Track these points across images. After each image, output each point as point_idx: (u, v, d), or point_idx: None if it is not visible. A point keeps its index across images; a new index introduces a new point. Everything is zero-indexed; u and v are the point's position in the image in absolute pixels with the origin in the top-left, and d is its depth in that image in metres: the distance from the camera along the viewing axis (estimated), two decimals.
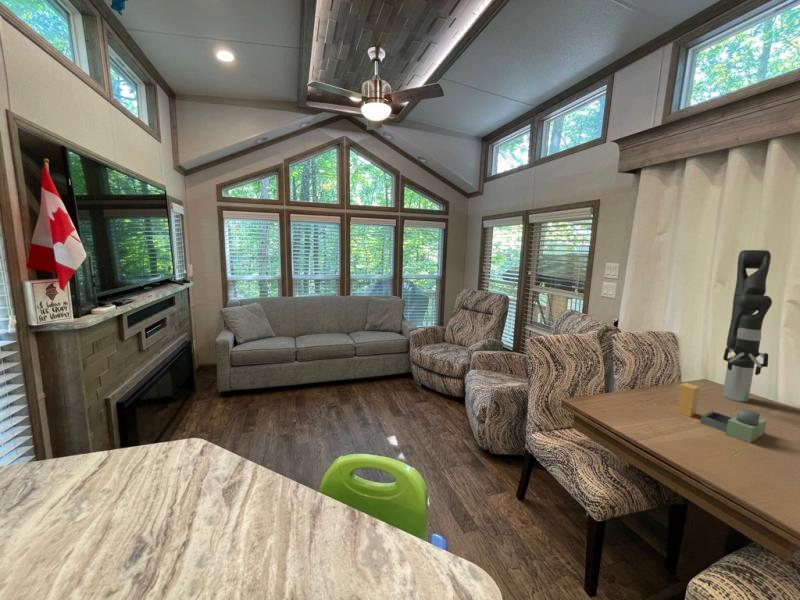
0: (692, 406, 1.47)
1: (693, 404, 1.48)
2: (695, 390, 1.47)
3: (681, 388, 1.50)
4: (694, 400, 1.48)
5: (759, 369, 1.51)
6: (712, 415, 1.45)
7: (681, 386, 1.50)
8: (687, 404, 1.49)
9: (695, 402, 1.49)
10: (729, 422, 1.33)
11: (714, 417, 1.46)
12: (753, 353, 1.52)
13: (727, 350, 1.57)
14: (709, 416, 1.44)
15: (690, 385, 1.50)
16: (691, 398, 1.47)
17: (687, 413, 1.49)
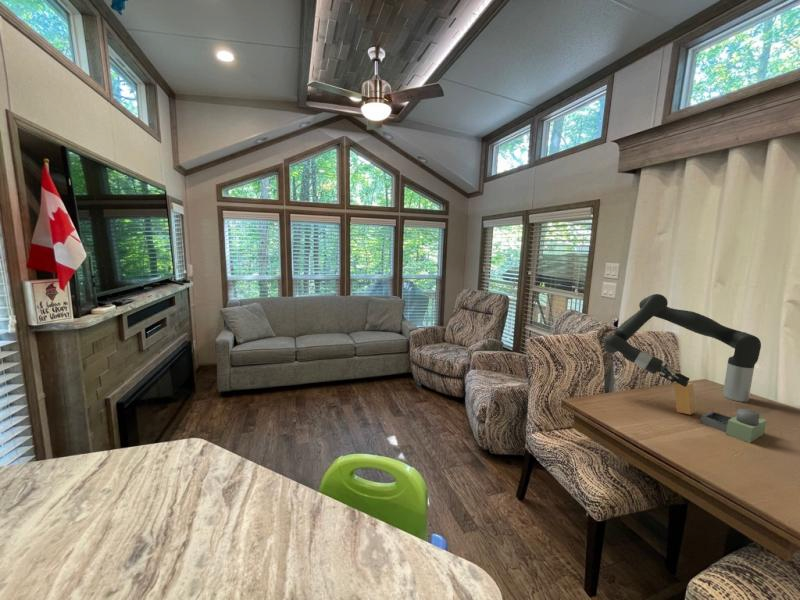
0: (689, 403, 1.48)
1: (690, 401, 1.49)
2: (688, 386, 1.49)
3: (675, 386, 1.52)
4: (690, 397, 1.49)
5: None
6: (712, 415, 1.45)
7: (675, 384, 1.52)
8: (684, 401, 1.49)
9: (692, 399, 1.49)
10: (729, 422, 1.33)
11: (714, 417, 1.46)
12: (665, 367, 1.57)
13: (664, 371, 1.51)
14: (709, 416, 1.44)
15: None
16: (686, 395, 1.49)
17: (687, 411, 1.49)
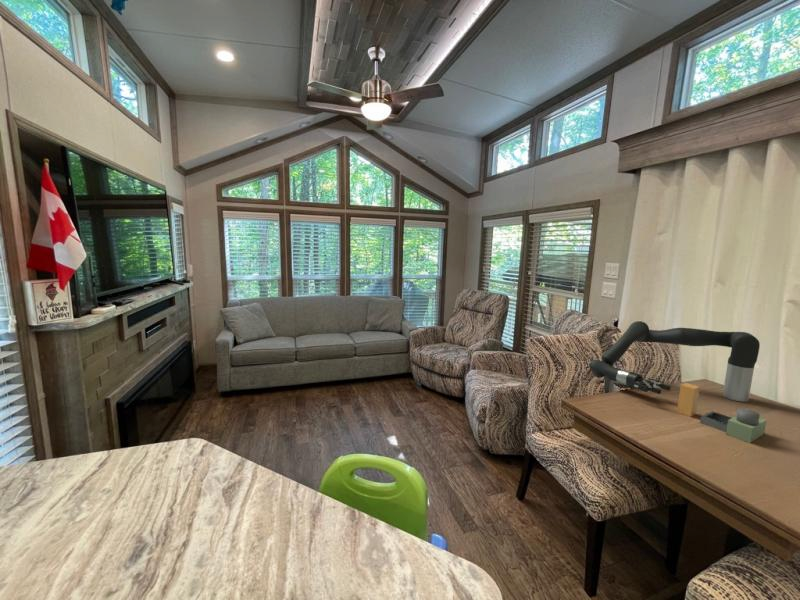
0: (692, 406, 1.47)
1: (693, 404, 1.48)
2: (695, 390, 1.47)
3: (681, 388, 1.50)
4: (694, 400, 1.48)
5: None
6: (712, 415, 1.45)
7: (681, 386, 1.50)
8: (687, 404, 1.49)
9: (695, 402, 1.49)
10: (729, 422, 1.33)
11: (714, 417, 1.46)
12: None
13: (637, 383, 1.63)
14: (709, 416, 1.44)
15: (690, 385, 1.50)
16: (691, 398, 1.47)
17: (687, 413, 1.49)
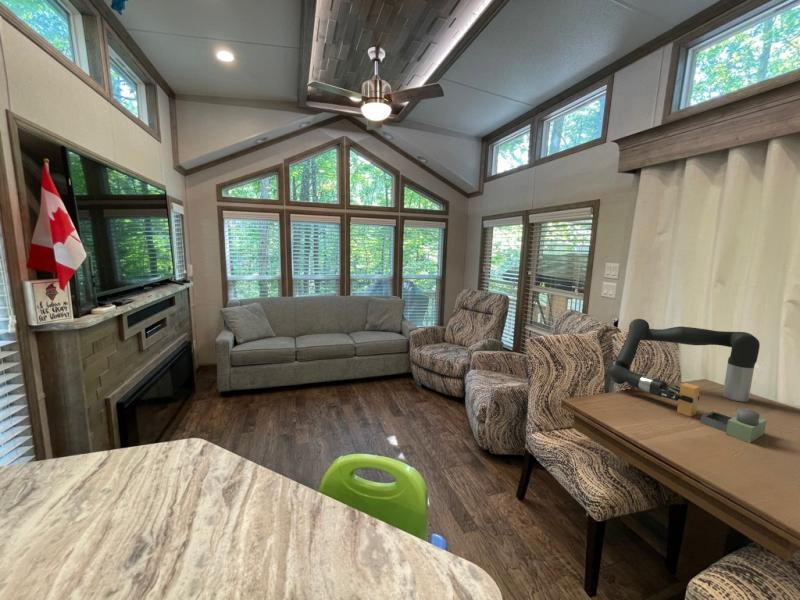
0: (692, 406, 1.47)
1: (693, 404, 1.48)
2: (695, 390, 1.47)
3: (681, 388, 1.50)
4: (695, 400, 1.48)
5: None
6: (712, 415, 1.45)
7: (681, 386, 1.50)
8: (687, 404, 1.48)
9: (695, 402, 1.49)
10: (729, 422, 1.33)
11: (714, 417, 1.46)
12: None
13: (664, 391, 1.53)
14: (709, 416, 1.44)
15: (690, 385, 1.50)
16: None
17: (687, 413, 1.49)
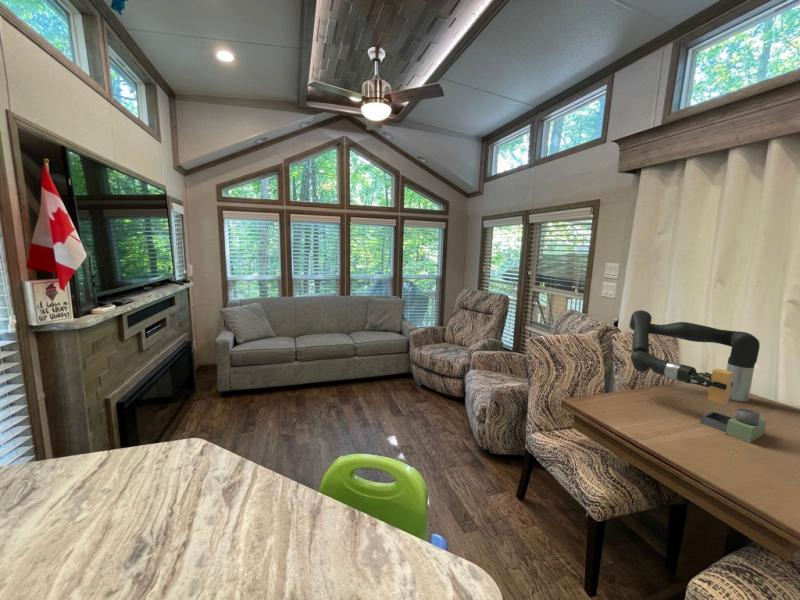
0: (725, 393, 1.37)
1: (726, 391, 1.37)
2: (729, 376, 1.36)
3: (713, 374, 1.40)
4: (728, 386, 1.38)
5: None
6: (712, 415, 1.45)
7: (713, 372, 1.40)
8: (720, 390, 1.38)
9: (728, 389, 1.38)
10: (729, 422, 1.33)
11: (714, 417, 1.46)
12: None
13: (695, 378, 1.43)
14: (709, 416, 1.44)
15: (723, 371, 1.39)
16: None
17: (720, 401, 1.38)
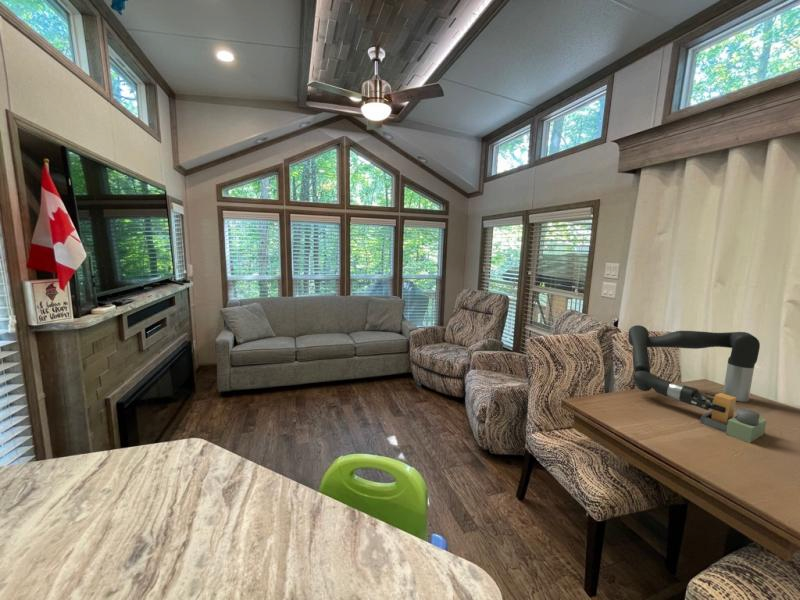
0: (727, 418, 1.37)
1: (729, 416, 1.37)
2: (731, 401, 1.36)
3: (715, 398, 1.40)
4: (730, 412, 1.37)
5: None
6: None
7: (715, 396, 1.40)
8: (722, 415, 1.38)
9: (731, 414, 1.38)
10: (729, 422, 1.33)
11: None
12: (703, 395, 1.47)
13: (695, 399, 1.43)
14: (709, 416, 1.44)
15: (725, 395, 1.39)
16: (726, 410, 1.37)
17: None
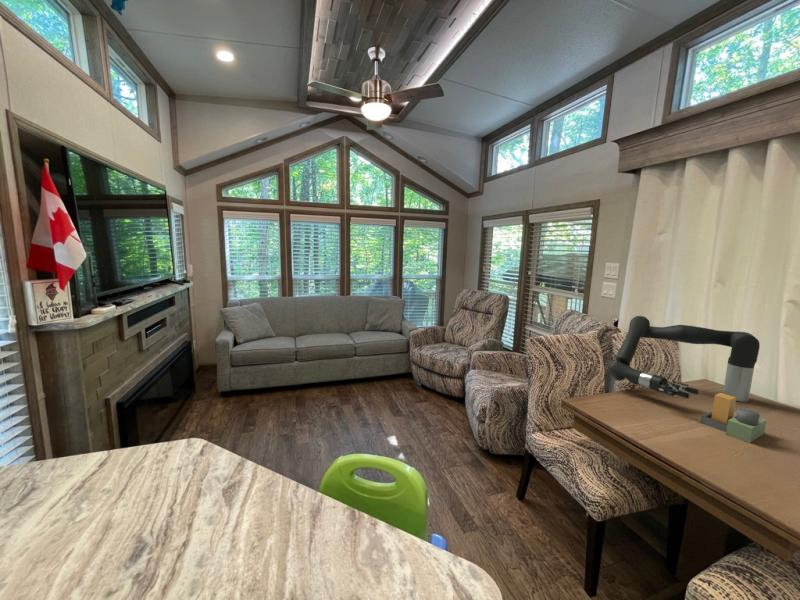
0: (727, 418, 1.37)
1: (729, 416, 1.37)
2: (731, 401, 1.36)
3: (715, 398, 1.40)
4: (730, 411, 1.37)
5: None
6: None
7: (715, 396, 1.40)
8: (722, 415, 1.38)
9: (731, 414, 1.38)
10: (729, 422, 1.33)
11: None
12: None
13: (662, 386, 1.54)
14: (709, 416, 1.44)
15: (725, 395, 1.39)
16: (726, 410, 1.37)
17: None
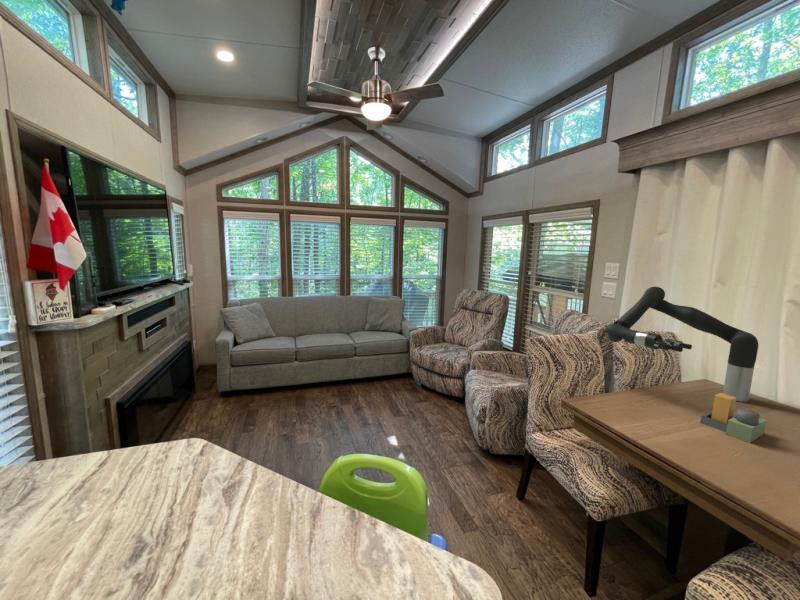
0: (727, 418, 1.37)
1: (729, 416, 1.37)
2: (731, 401, 1.36)
3: (715, 398, 1.40)
4: (730, 412, 1.37)
5: None
6: None
7: (715, 396, 1.40)
8: (722, 415, 1.38)
9: (731, 414, 1.38)
10: (729, 422, 1.33)
11: None
12: None
13: (657, 342, 1.59)
14: (709, 416, 1.44)
15: (725, 395, 1.39)
16: (726, 410, 1.37)
17: None
